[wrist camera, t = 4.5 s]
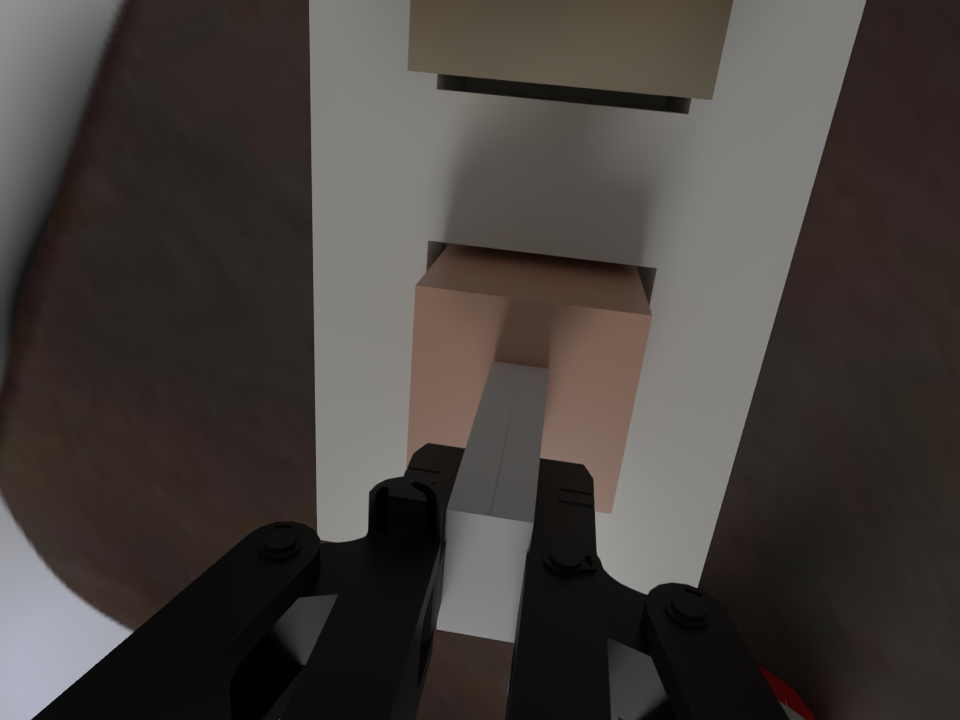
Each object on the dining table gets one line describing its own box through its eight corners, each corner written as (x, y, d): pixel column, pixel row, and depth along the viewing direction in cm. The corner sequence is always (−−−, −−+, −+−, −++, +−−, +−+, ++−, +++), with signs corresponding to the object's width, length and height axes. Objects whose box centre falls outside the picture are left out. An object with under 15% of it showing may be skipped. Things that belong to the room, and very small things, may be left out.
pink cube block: (455, 236, 22) (415, 285, 17) (633, 257, 21) (652, 315, 16) (444, 393, 24) (405, 481, 19) (603, 416, 24) (611, 513, 18)
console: (381, -365, 19) (300, -551, 13) (884, -349, 18) (1023, -547, 12) (365, 456, 30) (317, 539, 25) (671, 503, 29) (693, 601, 23)
